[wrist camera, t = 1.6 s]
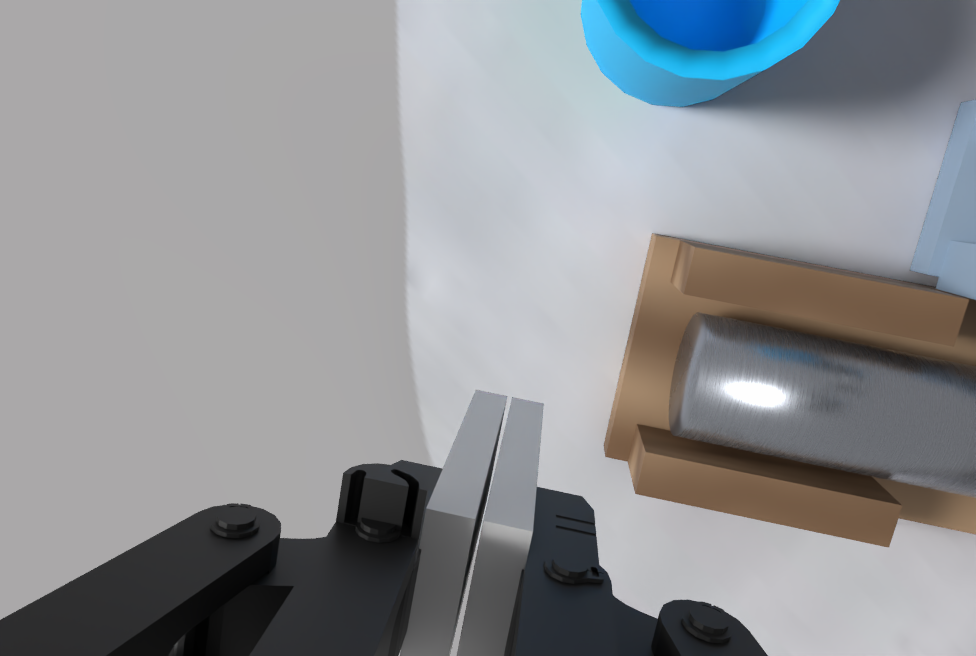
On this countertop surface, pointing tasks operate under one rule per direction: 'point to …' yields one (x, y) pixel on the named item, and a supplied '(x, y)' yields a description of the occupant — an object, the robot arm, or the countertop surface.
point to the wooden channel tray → (794, 306)
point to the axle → (826, 403)
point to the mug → (695, 43)
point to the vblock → (953, 213)
